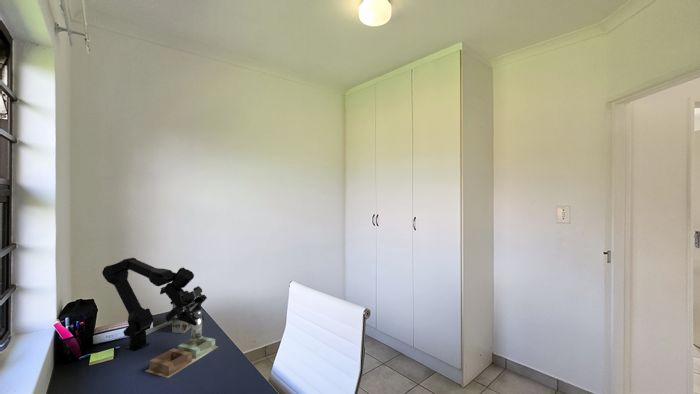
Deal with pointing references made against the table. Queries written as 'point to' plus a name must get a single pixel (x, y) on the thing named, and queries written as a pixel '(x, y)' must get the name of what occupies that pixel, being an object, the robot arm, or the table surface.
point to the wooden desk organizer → (181, 356)
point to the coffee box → (180, 324)
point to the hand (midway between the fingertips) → (199, 322)
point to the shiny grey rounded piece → (197, 329)
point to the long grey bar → (158, 327)
